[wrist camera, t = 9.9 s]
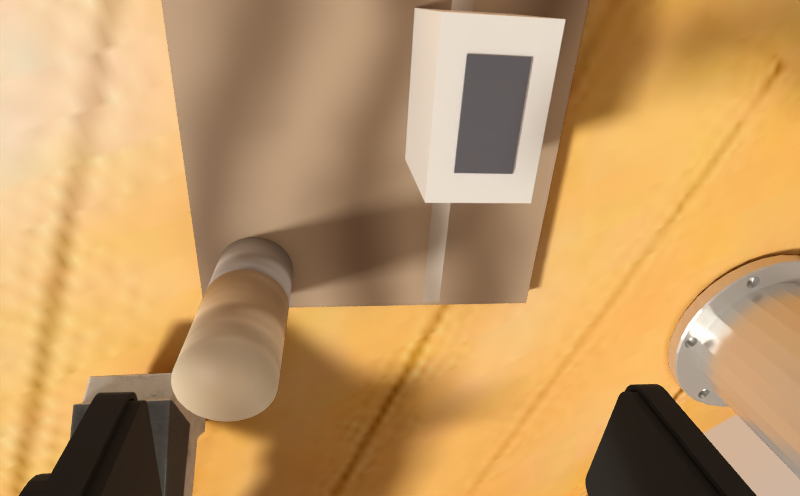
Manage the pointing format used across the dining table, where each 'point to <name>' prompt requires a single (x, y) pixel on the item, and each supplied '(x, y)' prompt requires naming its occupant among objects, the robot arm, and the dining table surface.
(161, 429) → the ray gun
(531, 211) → the board
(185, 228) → the dining table surface
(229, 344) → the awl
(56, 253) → the dining table surface
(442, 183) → the white rectangular block
